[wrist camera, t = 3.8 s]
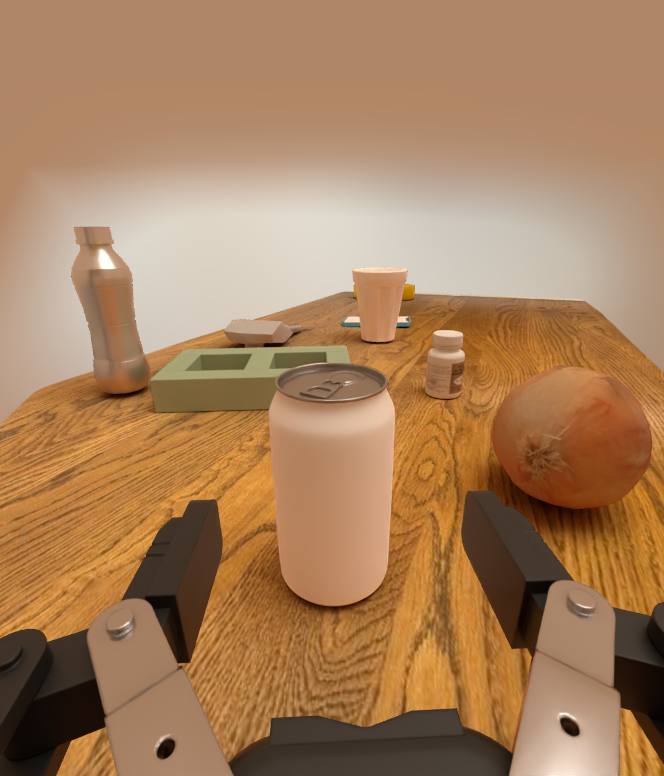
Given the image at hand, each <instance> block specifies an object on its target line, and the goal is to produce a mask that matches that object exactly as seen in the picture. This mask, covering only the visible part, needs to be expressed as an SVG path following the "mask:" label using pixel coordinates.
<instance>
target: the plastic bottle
mask: <svg viewBox="0 0 664 776" xmlns="http://www.w3.org/2000/svg"><path fill="white" fill-rule="evenodd" d="M74 231H75V235H76V244H79V245H80V252H79V254H78V256H77V258H76V259H75V262H74V264H73V267H72V272H71V278H72V281H73V284H74V285H75V289H76V291H77V294H78V296H79V299H80V302H81V304H82V307H83V309H84V313H85V316H86V320H87V322H88V327H89V330H90V333H91V341H92V348H93V355H94V364H93V366H94V376H95V379H96V381H97V383H98V385H99V387H100V388H101V389H102V390H103V391H105V392H106V393H110V394H122V393H129V392H133V391H137V390H140V389H142V388H144V387H145V386H146V385H147V384H148V382H149V380H150V367H149V364H148V361H147V358H146V356H145V354H144V353H143V349H142V345H141V341H140V338H139V334H138V331H137V326H136V320H135V312H134V303H133V284H132V282H133V281H132V274H131V271H130V269H129V267H128V266H127V265H126V263H125V262H124V261H123V260H122V258H121V257H120V256H119V255H118V254H116V252H115V251H114V250H113V249H112V246H111V244H114V241H113V240H112V237H111V232H110V229H109V227H74Z"/></svg>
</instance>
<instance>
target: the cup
mask: <svg viewBox="0 0 664 776" xmlns="http://www.w3.org/2000/svg"><path fill="white" fill-rule="evenodd" d="M352 272H353V281H354V283H355V286H356V294H357V302H358V311H359V319H360V327H361V335H362V339H363V340H366V341H371V342H387V341H391V340H393V339H394V337H395V331H396V326H397V321H398V316H399V311H400V306H401V301H402V295H403V290H404V285H405V282H406V277H407V272H408V271H407V269H403V268H385V267H383V268H358V269H354V270H353V271H352Z"/></svg>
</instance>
